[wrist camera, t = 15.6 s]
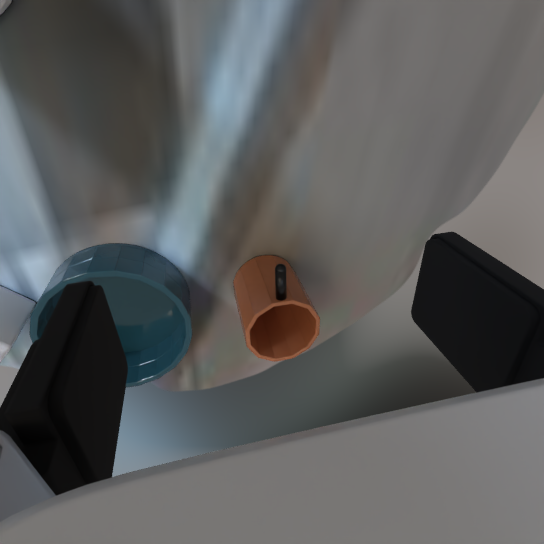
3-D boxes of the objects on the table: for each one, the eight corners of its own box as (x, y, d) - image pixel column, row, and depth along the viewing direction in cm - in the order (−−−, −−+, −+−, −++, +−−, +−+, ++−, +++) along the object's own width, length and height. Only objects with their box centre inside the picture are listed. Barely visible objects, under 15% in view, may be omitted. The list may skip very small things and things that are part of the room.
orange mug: (294, 302, 44) (318, 353, 37) (236, 312, 43) (248, 366, 36) (294, 222, 39) (322, 262, 31) (227, 230, 38) (240, 274, 30)
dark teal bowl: (25, 323, 38) (3, 361, 33) (86, 217, 34) (72, 242, 29) (150, 367, 45) (147, 403, 40) (214, 282, 40) (219, 311, 36)
